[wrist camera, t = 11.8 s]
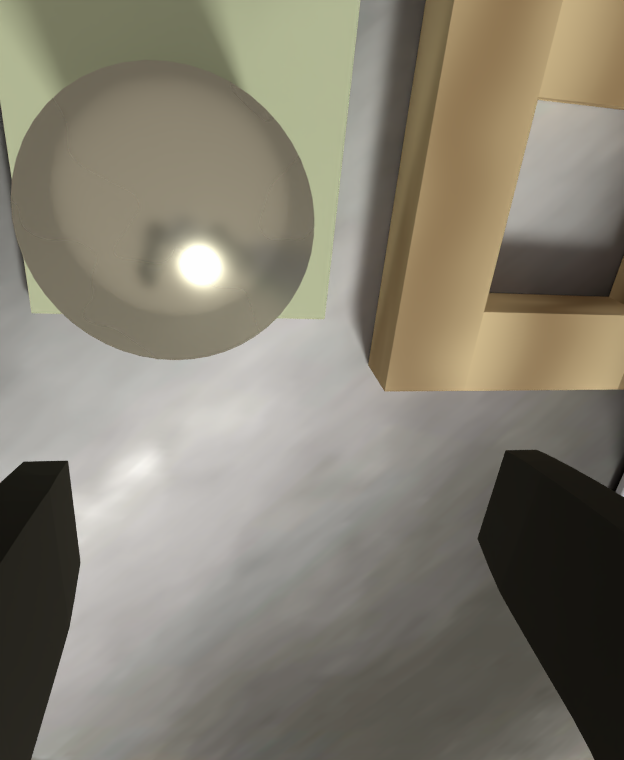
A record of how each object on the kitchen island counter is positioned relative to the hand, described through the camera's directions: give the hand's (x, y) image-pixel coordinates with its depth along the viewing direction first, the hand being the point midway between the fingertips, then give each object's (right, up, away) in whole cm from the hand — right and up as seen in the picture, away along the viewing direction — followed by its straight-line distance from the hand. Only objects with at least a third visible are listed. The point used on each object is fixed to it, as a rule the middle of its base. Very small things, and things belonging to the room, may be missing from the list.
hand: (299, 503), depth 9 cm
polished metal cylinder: (-3, +8, +6) cm, 11 cm away
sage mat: (-4, +8, +7) cm, 11 cm away
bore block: (+9, +8, +10) cm, 15 cm away
